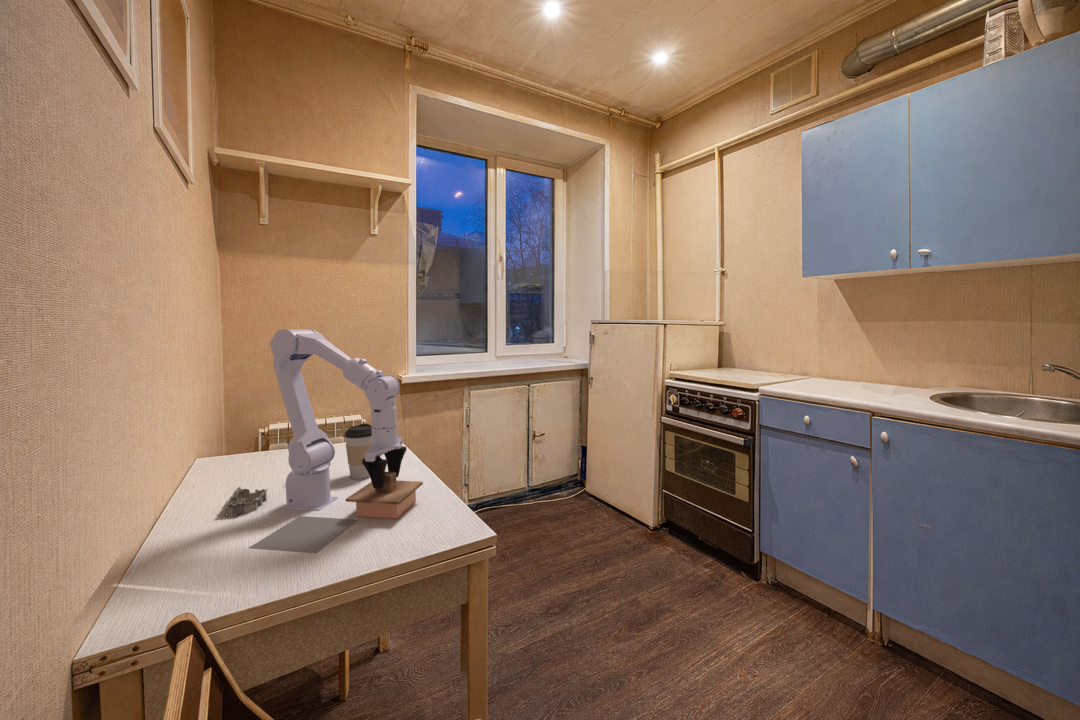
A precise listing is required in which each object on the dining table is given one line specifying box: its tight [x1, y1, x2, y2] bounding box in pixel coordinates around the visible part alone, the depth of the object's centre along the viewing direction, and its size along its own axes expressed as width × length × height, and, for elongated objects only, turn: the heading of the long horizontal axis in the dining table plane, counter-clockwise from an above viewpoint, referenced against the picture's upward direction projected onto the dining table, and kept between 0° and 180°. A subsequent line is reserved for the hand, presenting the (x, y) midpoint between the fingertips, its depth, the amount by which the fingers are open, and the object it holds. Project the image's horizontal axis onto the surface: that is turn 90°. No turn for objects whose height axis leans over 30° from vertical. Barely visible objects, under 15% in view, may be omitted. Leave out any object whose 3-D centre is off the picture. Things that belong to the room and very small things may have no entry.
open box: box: [355, 490, 417, 520], centre depth 107 cm, size 10×10×4 cm
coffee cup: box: [344, 423, 372, 480], centre depth 132 cm, size 9×9×15 cm
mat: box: [248, 515, 359, 554], centre depth 95 cm, size 15×15×1 cm
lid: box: [345, 471, 424, 504], centre depth 107 cm, size 13×13×5 cm
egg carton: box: [222, 486, 269, 517], centre depth 110 cm, size 11×8×4 cm
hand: (386, 482), depth 107 cm, fingers open, 7 cm apart
